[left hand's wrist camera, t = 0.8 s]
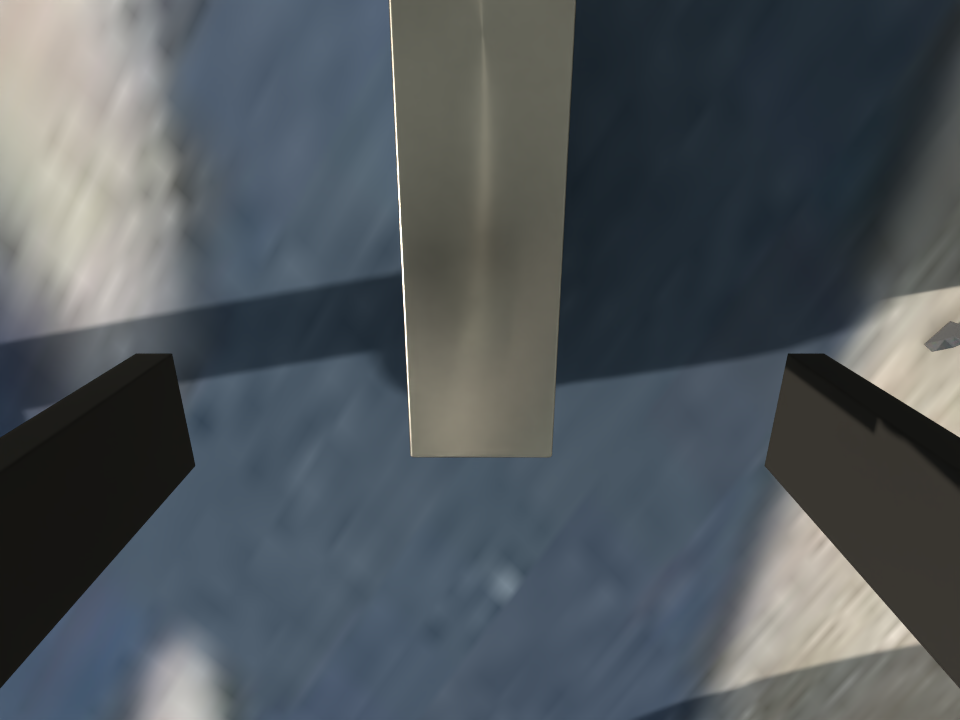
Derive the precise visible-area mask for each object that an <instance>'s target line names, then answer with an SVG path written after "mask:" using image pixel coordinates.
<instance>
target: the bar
mask: <svg viewBox="0 0 960 720" xmlns="http://www.w3.org/2000/svg"><path fill="white" fill-rule="evenodd" d="M575 16H576V0H389V18H390V39H391V60H392V81H393V102H394V123H395V144H396V165H397V186H398V206H399V227H400V248H401V269H402V290H403V311H404V332H405V353H406V374H407V394H408V415H409V436H410V455H411V457H551V455H552V444H553V425H554V407H555V388H556V370H557V351H558V332H559V314H560V295H561V276H562V258H563V239H564V221H565V202H566V183H567V165H568V146H569V127H570V109H571V90H572V72H573V53H574V34H575Z"/></svg>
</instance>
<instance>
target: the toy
mask: <svg viewBox="0 0 960 720" xmlns="http://www.w3.org/2000/svg"><path fill="white" fill-rule="evenodd" d="M924 345H925V346H926V347H927V348H929V349H930V350H931V351H938V350H943V349H948V348H953V347H956V346H958V345H960V324H957V323H954V322H951V321H950V322H949V323H948V324H946V325H945V326H944V327H943V328H942V329H941V330H940V331H939V332H937V333H936V334H935V335H934V336H933V337H932V338H931V339H930V340H929V341H927V342H926V343H925V344H924Z"/></svg>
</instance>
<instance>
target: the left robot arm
mask: <svg viewBox="0 0 960 720" xmlns="http://www.w3.org/2000/svg"><path fill="white" fill-rule="evenodd" d="M194 467H195V462H194V457H193V452H192V447H191V443H190V438H189V433H188V428H187V423H186V418H185V414H184V409H183V404H182V399H181V394H180V390H179V385H178V380H177V375H176V370H175V366H174V361H173V356H172V354H135V355H133V356H131V357H130V358H128V359H127V360H125V361H123V362H122V363H120V364H118V365H117V366H115V367H114V368H112V369H110V370H109V371H107V372H106V373H104V374H102V375H101V376H99V377H97V378H96V379H94V380H93V381H91V382H89V383H88V384H86V385H85V386H83V387H81V388H80V389H78V390H76V391H75V392H73V393H72V394H70V395H68V396H67V397H65V398H64V399H62V400H60V401H59V402H57V403H55V404H54V405H52V406H51V407H49V408H47V409H46V410H44V411H42V412H41V413H39V414H38V415H36V416H34V417H33V418H31V419H30V420H28V421H26V422H25V423H23V424H21V425H20V426H18V427H17V428H15V429H13V430H12V431H10V432H9V433H7V434H5V435H4V436H2V437H0V688H1V687H2V686H3V685H4V683H5V682H6V681H7V680H8V679H9V678H10V677H11V675H12V674H13V673H14V672H15V671H16V670H17V669H18V667H19V666H20V665H21V664H22V663H23V662H24V661H25V659H26V658H27V657H28V656H29V655H30V654H31V653H32V651H33V650H34V649H35V648H36V647H37V646H38V645H39V644H40V642H41V641H42V640H43V639H44V638H45V637H46V636H47V634H48V633H49V632H50V631H51V630H52V629H53V628H54V626H55V625H56V624H57V623H58V622H59V621H60V620H61V618H62V617H63V616H64V615H65V614H66V613H67V612H68V610H69V609H70V608H71V607H72V606H73V605H74V604H75V602H76V601H77V600H78V599H79V598H80V597H81V596H82V594H83V593H84V592H85V591H86V590H87V589H88V588H89V586H90V585H91V584H92V583H93V582H94V581H95V580H96V578H97V577H98V576H99V575H100V574H101V573H102V572H103V570H104V569H105V568H106V567H107V566H108V565H109V564H110V563H111V561H112V560H113V559H114V558H115V557H116V556H117V555H118V553H119V552H120V551H121V550H122V549H123V548H124V547H125V545H126V544H127V543H128V542H129V541H130V540H131V539H132V537H133V536H134V535H135V534H136V533H137V532H138V531H139V529H140V528H141V527H142V526H143V525H144V524H145V523H146V521H147V520H148V519H149V518H150V517H151V516H152V515H153V513H154V512H155V511H156V510H157V509H158V508H159V507H160V505H161V504H162V503H163V502H164V501H165V500H166V499H167V497H168V496H169V495H170V494H171V493H172V492H173V491H174V489H175V488H176V487H177V486H178V485H179V484H180V483H181V482H182V480H183V479H184V478H185V477H186V476H187V475H188V474H189V472H190V471H191V470H192V469H193V468H194ZM765 467H766V468H767V469H768V470H769V471H770V472H771V474H772V475H773V476H774V477H775V478H776V479H777V480H778V482H779V483H780V484H781V485H782V486H783V487H784V488H785V489H786V491H787V492H788V493H789V494H790V495H791V496H792V497H793V499H794V500H795V501H796V502H797V503H798V504H799V505H800V507H801V508H802V509H803V510H804V511H805V512H806V513H807V515H808V516H809V517H810V518H811V519H812V520H813V521H814V523H815V524H816V525H817V526H818V527H819V528H820V529H821V531H822V532H823V533H824V534H825V535H826V536H827V537H828V539H829V540H830V541H831V542H832V543H833V544H834V545H835V547H836V548H837V549H838V550H839V551H840V552H841V553H842V555H843V556H844V557H845V558H846V559H847V560H848V561H849V563H850V564H851V565H852V566H853V567H854V568H855V569H856V570H857V572H858V573H859V574H860V575H861V576H862V577H863V578H864V580H865V581H866V582H867V583H868V584H869V585H870V586H871V588H872V589H873V590H874V591H875V592H876V593H877V594H878V596H879V597H880V598H881V599H882V600H883V601H884V602H885V604H886V605H887V606H888V607H889V608H890V609H891V610H892V612H893V613H894V614H895V615H896V616H897V617H898V618H899V620H900V621H901V622H902V623H903V624H904V625H905V626H906V628H907V629H908V630H909V631H910V632H911V633H912V634H913V636H914V637H915V638H916V639H917V640H918V641H919V642H920V644H921V645H922V646H923V647H924V648H925V649H926V650H927V651H928V653H929V654H930V655H931V656H932V657H933V658H934V659H935V661H936V662H937V663H938V664H939V665H940V666H941V667H942V669H943V670H944V671H945V672H946V673H947V674H948V675H949V677H950V678H951V679H952V680H953V681H954V682H955V683H956V685H957V686H958V687H959V688H960V437H958V436H956V435H955V434H953V433H951V432H950V431H948V430H947V429H945V428H943V427H942V426H940V425H939V424H937V423H935V422H934V421H932V420H930V419H929V418H927V417H926V416H924V415H922V414H921V413H919V412H918V411H916V410H914V409H913V408H911V407H909V406H908V405H906V404H905V403H903V402H901V401H900V400H898V399H896V398H895V397H893V396H892V395H890V394H888V393H887V392H885V391H884V390H882V389H880V388H879V387H877V386H875V385H874V384H872V383H871V382H869V381H867V380H866V379H864V378H863V377H861V376H859V375H858V374H856V373H854V372H853V371H851V370H850V369H848V368H846V367H845V366H843V365H842V364H840V363H838V362H837V361H835V360H833V359H832V358H830V357H829V356H827V355H825V354H788V356H787V361H786V366H785V370H784V375H783V380H782V385H781V390H780V394H779V399H778V404H777V409H776V414H775V418H774V423H773V428H772V433H771V438H770V443H769V447H768V452H767V457H766V462H765Z"/></svg>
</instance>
